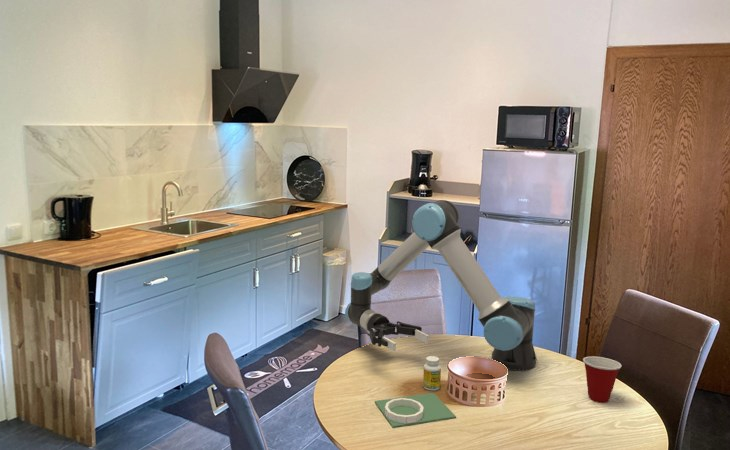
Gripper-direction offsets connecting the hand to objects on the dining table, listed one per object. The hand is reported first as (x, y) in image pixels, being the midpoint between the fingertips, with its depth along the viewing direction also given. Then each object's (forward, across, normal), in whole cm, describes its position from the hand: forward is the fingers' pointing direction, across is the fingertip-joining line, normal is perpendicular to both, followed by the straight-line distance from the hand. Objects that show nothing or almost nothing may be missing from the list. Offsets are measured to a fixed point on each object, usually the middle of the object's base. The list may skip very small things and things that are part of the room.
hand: (411, 343), depth 186 cm
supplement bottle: (+10, 0, -11) cm, 15 cm away
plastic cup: (+43, -39, -10) cm, 59 cm away
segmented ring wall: (+20, +18, -11) cm, 29 cm away
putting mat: (+19, +13, -11) cm, 26 cm away
